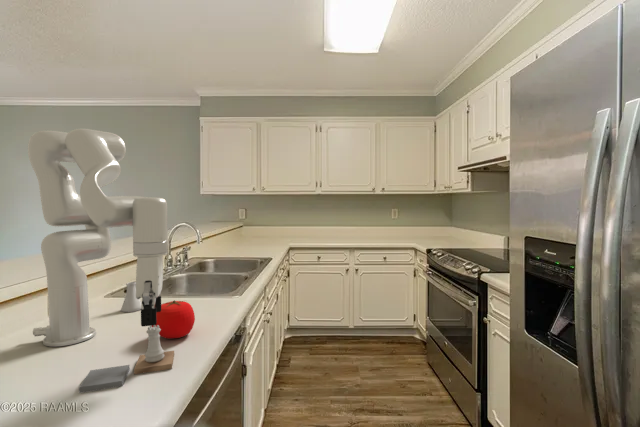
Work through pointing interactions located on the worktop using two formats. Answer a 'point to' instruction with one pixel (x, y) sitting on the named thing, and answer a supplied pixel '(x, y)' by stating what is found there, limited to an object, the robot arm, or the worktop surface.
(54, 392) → the worktop surface
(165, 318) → the tomato
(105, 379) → the charcoal coaster
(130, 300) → the flask
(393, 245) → the worktop surface
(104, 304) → the worktop surface
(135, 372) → the walnut coaster
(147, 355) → the rook chess piece
